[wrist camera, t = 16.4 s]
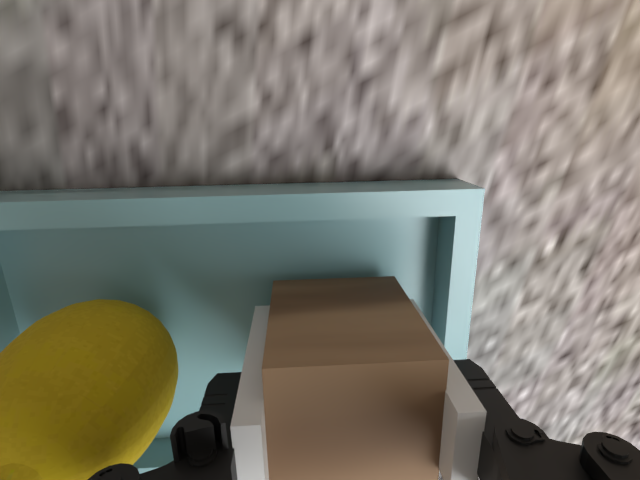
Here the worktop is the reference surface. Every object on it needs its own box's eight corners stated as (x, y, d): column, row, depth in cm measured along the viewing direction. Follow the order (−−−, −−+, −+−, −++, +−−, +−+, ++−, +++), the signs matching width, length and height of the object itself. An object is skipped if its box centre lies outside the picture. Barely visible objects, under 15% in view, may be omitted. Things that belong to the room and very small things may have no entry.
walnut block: (273, 280, 16) (261, 368, 10) (394, 276, 16) (448, 359, 11) (278, 385, 17) (270, 513, 12) (389, 379, 18) (435, 502, 12)
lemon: (69, 376, 18) (-101, 574, 10) (64, 261, 16) (-142, 392, 8) (195, 385, 18) (126, 579, 11) (202, 275, 17) (126, 410, 9)
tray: (-29, 191, 16) (-87, 204, 13) (457, 178, 17) (485, 188, 14) (44, 448, 20) (9, 494, 17) (436, 425, 21) (454, 465, 18)
